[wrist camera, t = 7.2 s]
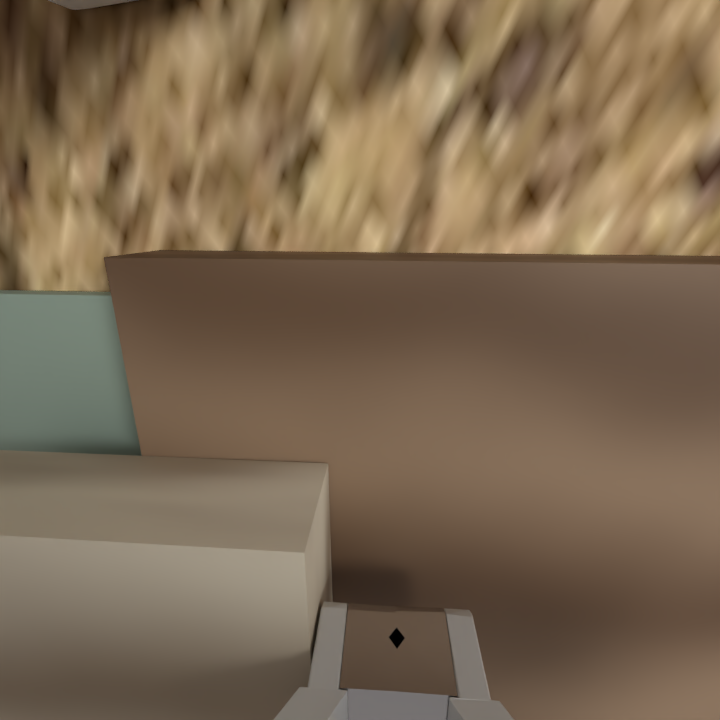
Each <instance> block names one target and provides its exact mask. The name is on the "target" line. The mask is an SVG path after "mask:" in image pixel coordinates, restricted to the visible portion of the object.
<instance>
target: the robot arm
mask: <svg viewBox="0 0 720 720" xmlns="http://www.w3.org/2000/svg"><path fill="white" fill-rule="evenodd" d="M274 720H514V719H513V718H512V716H511V715H510V714H509V712H508V711H507V710H506V709H505V707H504V706H503V705H502V704H501V702H500V701H496V700H491V698H490V693H489V689H488V684H487V680H486V675H485V671H484V666H483V661H482V657H481V652H480V648H479V643H478V639H477V634H476V629H475V625H474V620H473V616H472V614H471V612H470V610H461V609H443V608H432V607H408V606H395V607H390V606H379V605H367V604H355V603H349V604H348V603H340V602H327V601H324V603H323V605H322V608H321V612H320V618H319V624H318V629H317V635H316V641H315V647H314V652H313V658H312V664H311V670H310V675H309V681H308V687H299V688H298V690H297V691H296V692H295V693H294V695H293V696H292V697H291V698H290V700H289V701H288V702H287V703H286V705H285V706H284V707H283V708H282V710H281V711H280V712H279V713H278V715H277V716H276V717H275V718H274Z"/></svg>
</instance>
